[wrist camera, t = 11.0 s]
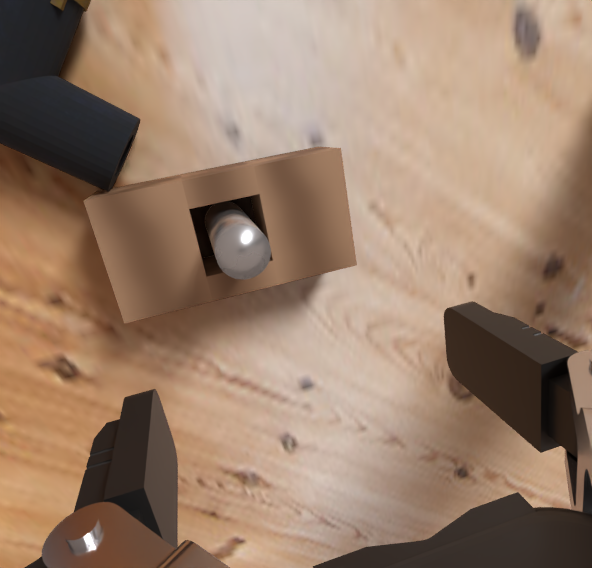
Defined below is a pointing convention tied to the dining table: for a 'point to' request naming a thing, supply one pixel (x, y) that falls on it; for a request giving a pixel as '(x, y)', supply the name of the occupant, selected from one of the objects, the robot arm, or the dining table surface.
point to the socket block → (184, 244)
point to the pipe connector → (56, 96)
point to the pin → (236, 241)
